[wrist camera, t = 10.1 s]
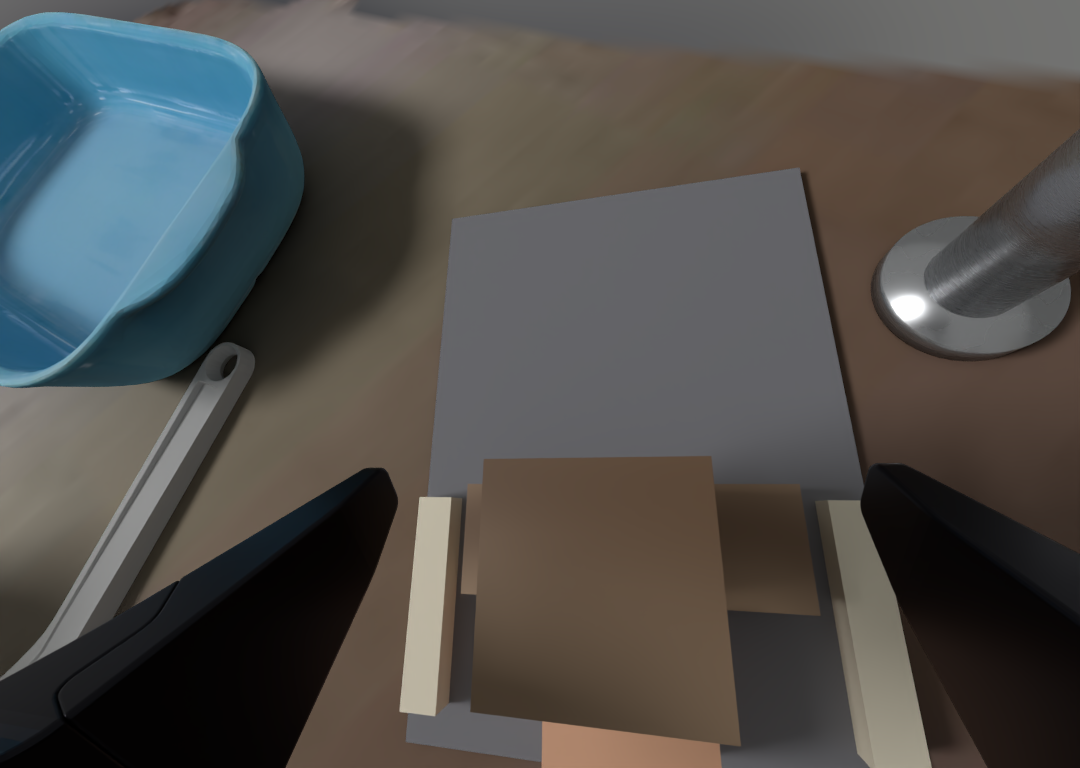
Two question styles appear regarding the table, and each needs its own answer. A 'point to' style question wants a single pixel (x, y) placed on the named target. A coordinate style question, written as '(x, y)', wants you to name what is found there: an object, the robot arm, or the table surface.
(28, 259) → the casserole dish
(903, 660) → the mat
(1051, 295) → the grey metal stick
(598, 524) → the wooden block on base
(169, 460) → the adjustable wrench
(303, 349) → the table surface
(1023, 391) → the table surface
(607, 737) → the terracotta block
